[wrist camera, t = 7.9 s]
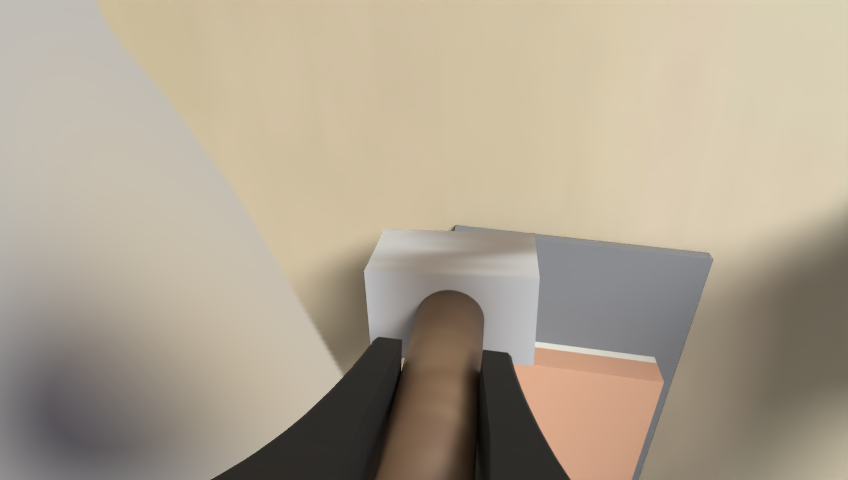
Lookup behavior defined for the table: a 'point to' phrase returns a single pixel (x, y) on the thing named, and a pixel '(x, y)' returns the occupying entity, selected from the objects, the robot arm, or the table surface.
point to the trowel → (447, 337)
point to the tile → (592, 407)
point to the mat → (618, 301)
